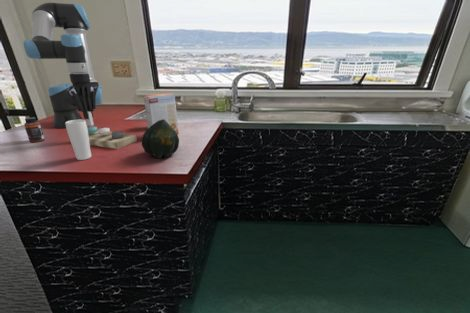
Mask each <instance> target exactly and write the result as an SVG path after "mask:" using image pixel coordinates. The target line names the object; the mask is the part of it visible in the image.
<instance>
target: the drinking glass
mask: <svg viewBox="0 0 470 313" xmlns="http://www.w3.org/2000/svg"><path fill="white" fill-rule="evenodd" d="M82 119H83V118H82ZM82 119H79V120H70V121H67V122H65V124H66V128H65V129H66V132H67V136H68V138H69V141H70V143H71V146H72V149H73V153H74V154H75V158H76V160H78V161H85V160H88V159H90V158H92V151H91V145H90V143H89V135H88V129H87V127H88V125H87V122H86V119H83V120H82Z"/></svg>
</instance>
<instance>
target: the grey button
mask: <svg viewBox="0 0 470 313" xmlns="http://www.w3.org/2000/svg"><path fill="white" fill-rule="evenodd" d="M111 132H112V133H111V134H112V138H122V137H124V134H125V133H124V131H123V130H122V131H121V130H118V131H111Z"/></svg>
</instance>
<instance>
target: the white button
mask: <svg viewBox="0 0 470 313" xmlns="http://www.w3.org/2000/svg"><path fill="white" fill-rule="evenodd" d="M97 129H98V133H99V135H106V134H110V132H111V130H110V127H103V128H102V127H101V128H97Z"/></svg>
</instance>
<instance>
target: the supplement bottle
mask: <svg viewBox="0 0 470 313" xmlns="http://www.w3.org/2000/svg"><path fill="white" fill-rule="evenodd" d="M24 120H25V123H23V126H24V128H25V131H26V134H27V138H28V141H29V142H30V143H40V142H43V141H45V140H46V139H45V135H44V132H43V129H42V125H41V122H39V121H37V118H36V117H34V116H32V117H31V116H30V117H25V118H24Z"/></svg>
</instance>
